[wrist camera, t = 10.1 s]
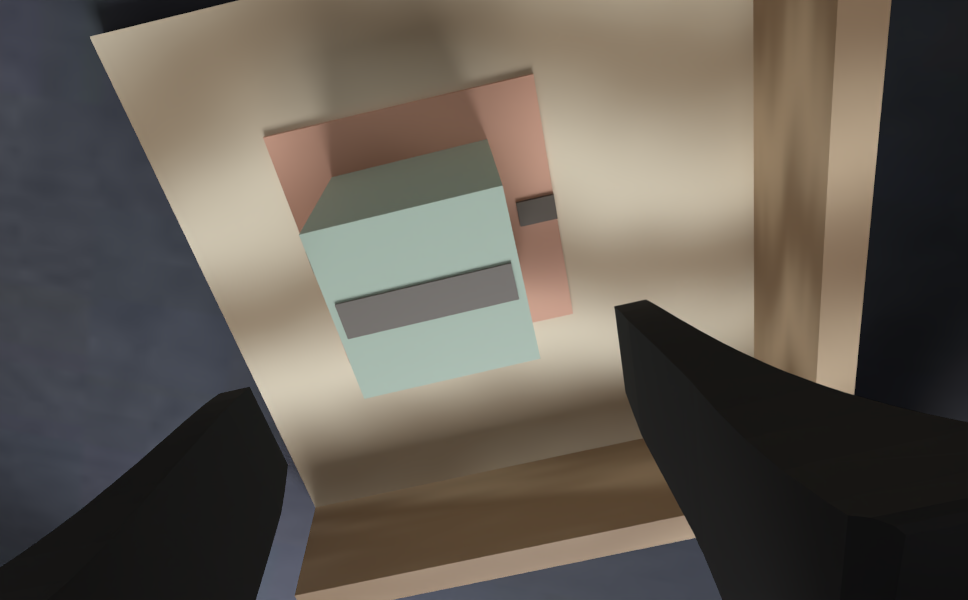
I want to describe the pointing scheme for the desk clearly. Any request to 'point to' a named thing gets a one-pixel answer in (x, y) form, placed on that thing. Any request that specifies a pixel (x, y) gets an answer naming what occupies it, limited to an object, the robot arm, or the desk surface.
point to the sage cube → (421, 270)
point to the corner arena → (517, 239)
